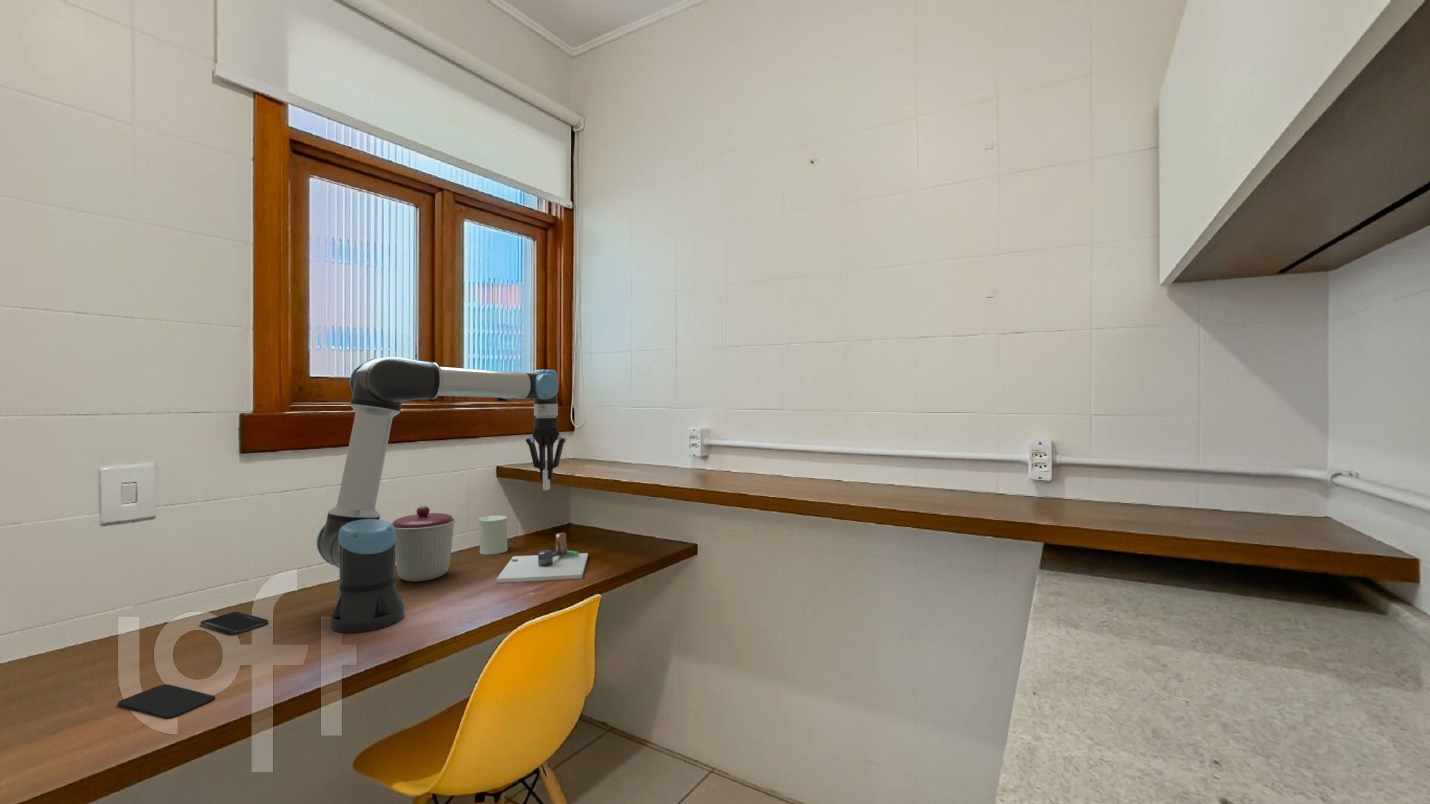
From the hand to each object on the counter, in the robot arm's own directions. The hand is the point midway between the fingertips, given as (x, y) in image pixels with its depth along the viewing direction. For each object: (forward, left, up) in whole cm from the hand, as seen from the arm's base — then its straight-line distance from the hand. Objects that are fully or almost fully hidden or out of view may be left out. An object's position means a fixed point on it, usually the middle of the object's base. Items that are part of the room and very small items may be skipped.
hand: (546, 489), depth 193 cm
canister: (-34, -12, -23) cm, 43 cm away
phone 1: (-54, -82, -24) cm, 101 cm away
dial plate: (+1, -10, -23) cm, 25 cm away
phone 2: (-66, -44, -24) cm, 83 cm away
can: (-20, +15, -23) cm, 34 cm away
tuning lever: (+3, -6, -22) cm, 23 cm away
